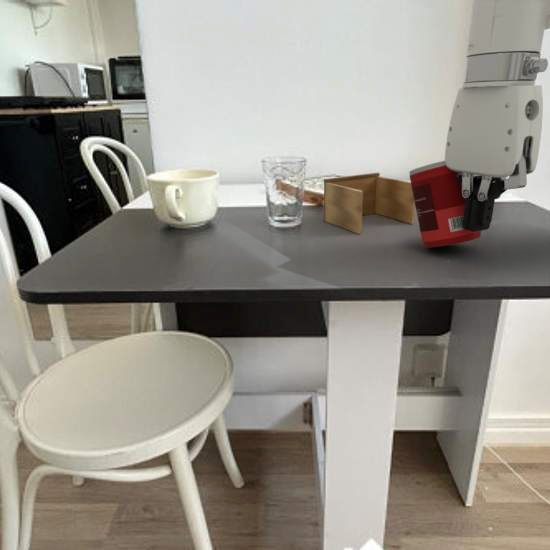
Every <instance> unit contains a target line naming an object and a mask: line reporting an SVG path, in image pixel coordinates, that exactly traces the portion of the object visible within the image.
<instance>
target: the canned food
mask: <svg viewBox="0 0 550 550" xmlns="http://www.w3.org/2000/svg"><path fill="white" fill-rule="evenodd" d="M409 180H410V181H409V182H411V187H412V192H413V197H414V202H415V213H416V216H417V221H418V227H419V232H420V237H421V241H422V245H424V247H425V248H427V249H431V248H439V247H446V246H452V245H457V244H461V243H466V242H470V241H474V240H477V239H479V238H480V237H481V234H482V233H481V232H482V231H476V232H472V231H470V230H465V229H463V228H462V226H463V217H464V210H465V203H466V198H464V197H463V196H462V189H461V187H460V185H459V184H458V182H457V172H456V171H453V170H450V169H449V168H448V167H447V166H446V164H445V160H441V161H437V162H433V163H429V164H427V165H423V166H420V167H417V168H413V169H412V170H410V171H409Z"/></svg>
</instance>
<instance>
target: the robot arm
mask: <svg viewBox="0 0 550 550" xmlns="http://www.w3.org/2000/svg"><path fill="white" fill-rule="evenodd" d="M546 30H550V0H473V1H472V6H471V15H470V22H469V31H468V39H467V47H466V56H465V63H464V70H463V71H464V72H463V79H462V80H463V81H462V87H461V88H458V90H457V94H456V97H455V101H454V104H453V107H452V112H451V116H450V120H449V125H448V131H447V136H446V143H445V151H444V161H445V164H446V166H447V167H448V168H449V169H450V170H453V171H456V172H457V182H458V184H459V185H460V187H461V189H462V196H463V197H464V198H466V203H465V210H464V217H463V226H462V228H463V229H465V230H470V231H472V232H476V231H481V232H482V231H486V230H489V229H490V227H491V223H492V220H493V215H494V214H493V213H494V209H495V208H494V207H495V202H496V200H499V199H500V198H501V196H502V195H503V194H504V193H505V192H506V191H507V190H516V189H523V188H526V186H527V183H528V179H527V175H530V174H532V173H534V172H535V170H536V167H537V164H538V160H539V159H538V158H539V153H540V147H541V139H542V131H543V130H542V129H543V128H542V127H543V118H544V117H543V115H544V114H543V113H544V112H543V111H544V109H543V108H544V106H543V105H544V102H543V101H544V98H543V86H542V84H541V85H540V84H539V85H538V84H537V85H536V80H537V77H538V74H539V73H544V72H546V70H547V68H548V67H549V66H548V65H549V63H548V62H549V61H548V59H547V58H545V57H543V58H542V57H541V55H542V54H541V52H542V46H543V40H544V35H545V31H546Z"/></svg>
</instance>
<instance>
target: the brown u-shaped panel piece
mask: <svg viewBox="0 0 550 550" xmlns="http://www.w3.org/2000/svg"><path fill="white" fill-rule="evenodd" d="M380 174H381V173H380V172H370V173H363V174H353V175H346V176H338V177H330V178H323V222H327V223H328V224H332V225H334V226H336V227H339V228H342V229H344V230H346V231H349V232H352V233H355V234H358V235H362V227H363V225H362V224H363V223H362V222H363V216H367V215H372V214H377V215H379V216H383V217H387V218H390V219H393V220H396V221H399V222H403V223H406V224H408V225H409V224H410V225H414V224H415V217H416V216H415V215H416V207H415V202H414V197H413V192H412V187H411V181H407V180H401V179H397V178H391V177H384V176H381V175H380Z"/></svg>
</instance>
